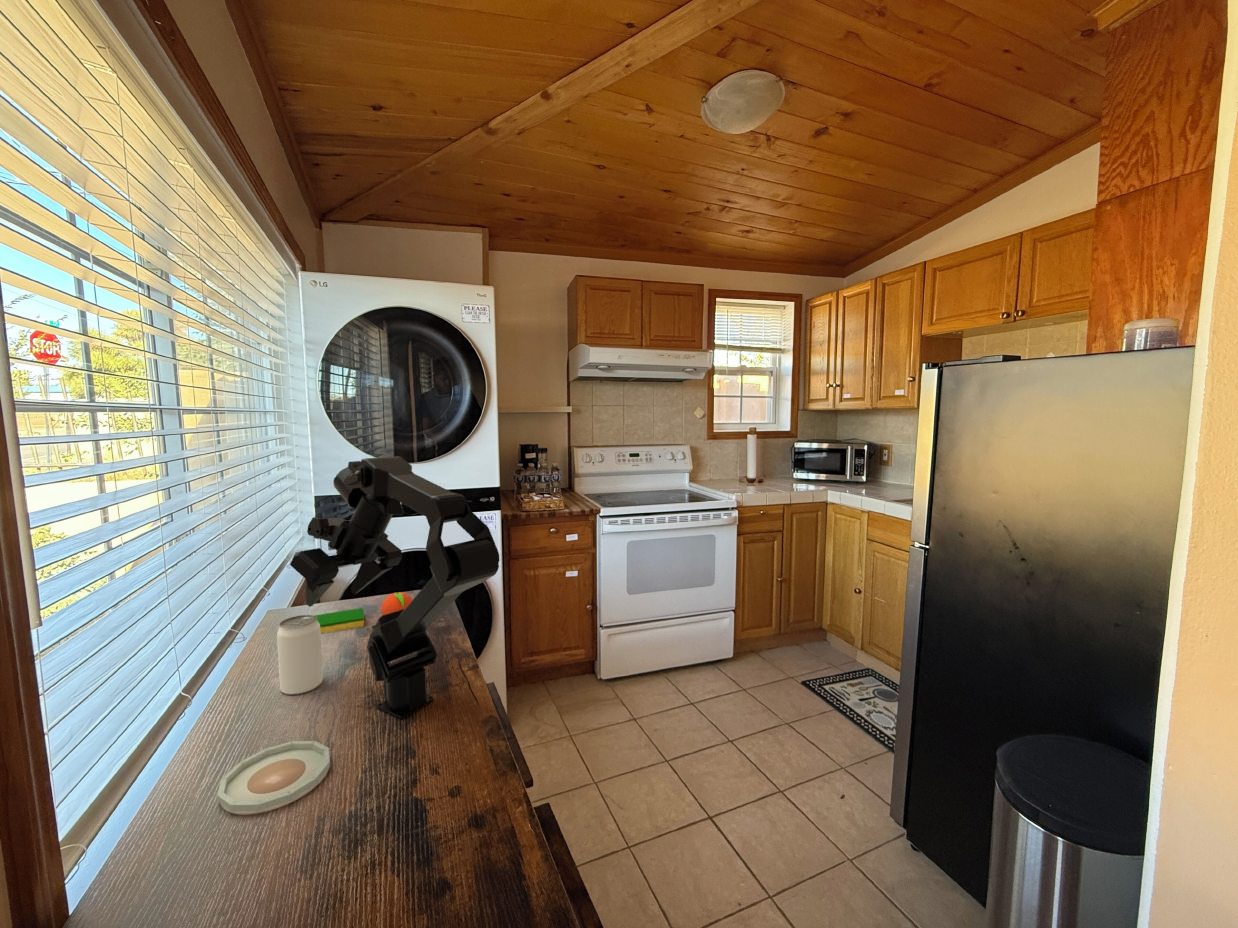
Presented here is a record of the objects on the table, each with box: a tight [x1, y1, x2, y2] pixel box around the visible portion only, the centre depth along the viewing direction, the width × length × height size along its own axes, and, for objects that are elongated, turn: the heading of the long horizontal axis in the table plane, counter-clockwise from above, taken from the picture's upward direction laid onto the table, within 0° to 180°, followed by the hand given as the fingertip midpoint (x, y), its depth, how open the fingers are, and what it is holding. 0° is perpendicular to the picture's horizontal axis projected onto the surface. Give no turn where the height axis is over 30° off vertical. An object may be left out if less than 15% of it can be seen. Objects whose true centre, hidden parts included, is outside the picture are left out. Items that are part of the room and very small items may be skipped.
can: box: [276, 614, 324, 696], centre depth 89 cm, size 6×6×12 cm
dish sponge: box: [314, 607, 365, 634], centre depth 116 cm, size 7×14×2 cm, turn 119°
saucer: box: [216, 740, 331, 816], centre depth 67 cm, size 12×12×1 cm
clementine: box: [380, 591, 413, 616], centre depth 118 cm, size 8×7×7 cm
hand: (332, 598), depth 89 cm, fingers open, 9 cm apart
